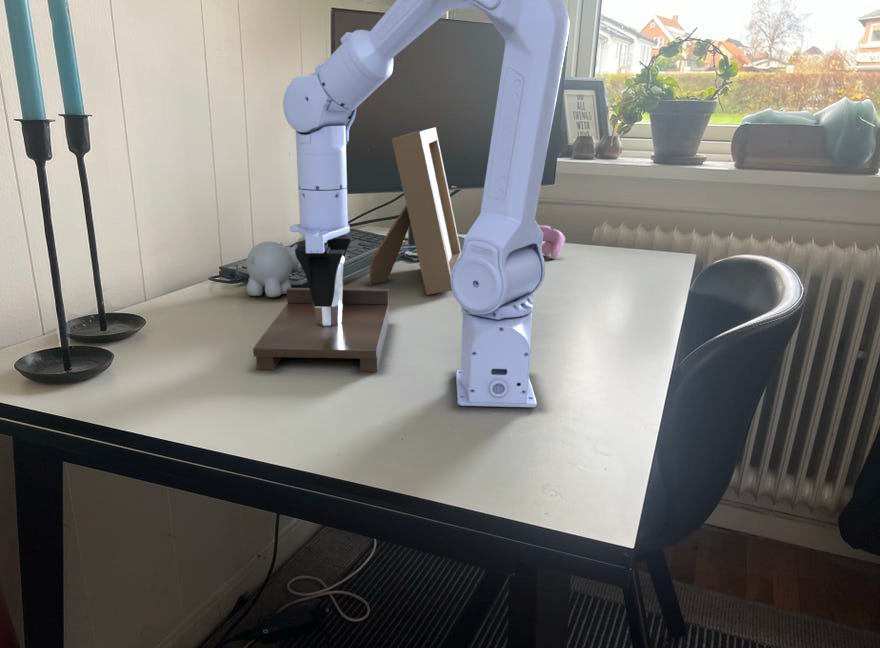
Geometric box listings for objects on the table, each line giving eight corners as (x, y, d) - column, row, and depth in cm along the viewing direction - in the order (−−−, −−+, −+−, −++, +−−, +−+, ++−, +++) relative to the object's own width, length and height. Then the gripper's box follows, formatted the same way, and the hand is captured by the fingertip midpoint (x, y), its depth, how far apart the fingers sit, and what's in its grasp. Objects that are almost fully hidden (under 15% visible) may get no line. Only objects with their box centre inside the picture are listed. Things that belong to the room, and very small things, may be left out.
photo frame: (463, 266, 133) (467, 127, 125) (452, 296, 113) (457, 131, 104) (385, 264, 135) (384, 126, 127) (362, 292, 115) (359, 131, 107)
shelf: (376, 375, 80) (376, 333, 79) (254, 373, 81) (251, 331, 79) (388, 323, 99) (388, 288, 97) (289, 322, 100) (287, 287, 98)
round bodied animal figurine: (319, 285, 119) (317, 235, 116) (275, 302, 109) (272, 247, 106) (284, 281, 122) (281, 232, 120) (239, 297, 112) (234, 243, 110)
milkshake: (301, 327, 87) (296, 247, 84) (319, 315, 92) (316, 239, 89) (334, 331, 86) (331, 249, 82) (352, 319, 91) (350, 241, 87)
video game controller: (561, 264, 142) (569, 231, 143) (555, 257, 138) (563, 223, 139) (516, 258, 147) (524, 226, 148) (508, 252, 143) (516, 219, 144)
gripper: (300, 181, 90) (305, 284, 95) (275, 195, 77) (282, 315, 81) (355, 181, 90) (357, 285, 95) (340, 195, 76) (343, 316, 81)
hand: (326, 299), depth 88 cm, fingers closed on milkshake, 5 cm apart
